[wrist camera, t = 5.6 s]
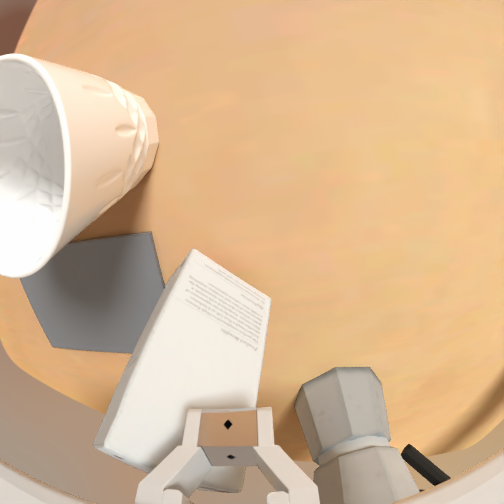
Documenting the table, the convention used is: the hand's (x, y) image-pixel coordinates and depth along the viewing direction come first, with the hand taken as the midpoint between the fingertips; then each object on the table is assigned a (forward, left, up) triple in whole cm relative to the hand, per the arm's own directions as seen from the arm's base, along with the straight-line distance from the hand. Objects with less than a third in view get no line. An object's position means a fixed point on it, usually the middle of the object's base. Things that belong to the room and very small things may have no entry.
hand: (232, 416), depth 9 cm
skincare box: (+1, 0, -10) cm, 10 cm away
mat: (+12, +1, -11) cm, 16 cm away
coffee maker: (-9, +14, -11) cm, 20 cm away
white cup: (+7, -10, -11) cm, 16 cm away
